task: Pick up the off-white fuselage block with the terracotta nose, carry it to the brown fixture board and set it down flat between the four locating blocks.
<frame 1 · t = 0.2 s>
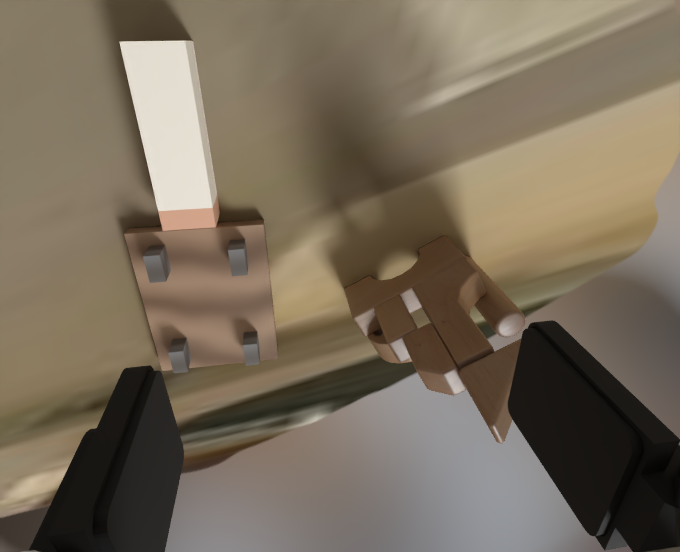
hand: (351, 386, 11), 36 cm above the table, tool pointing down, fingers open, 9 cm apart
fuselage block: (181, 136, 41), on the table
wooden toy: (410, 278, 53), on the table
brown fixture board: (210, 296, 50), on the table
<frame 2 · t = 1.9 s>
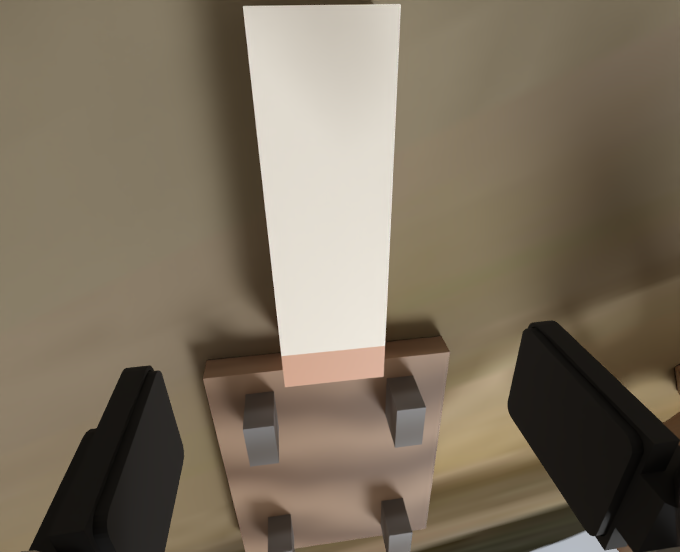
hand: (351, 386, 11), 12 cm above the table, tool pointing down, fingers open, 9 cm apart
fuselage block: (321, 202, 21), on the table
wooden toy: (644, 405, 32), on the table
brown fixture board: (332, 448, 30), on the table
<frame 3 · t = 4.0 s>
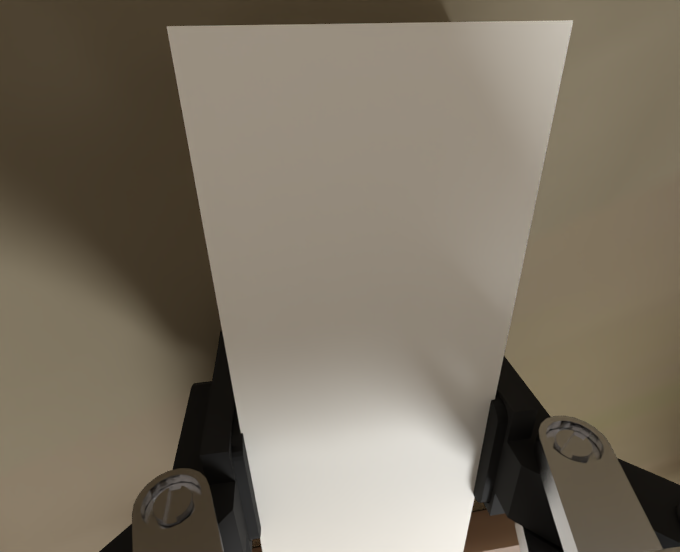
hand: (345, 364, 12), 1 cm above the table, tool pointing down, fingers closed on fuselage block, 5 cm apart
fuselage block: (342, 348, 12), on the table, touching gripper
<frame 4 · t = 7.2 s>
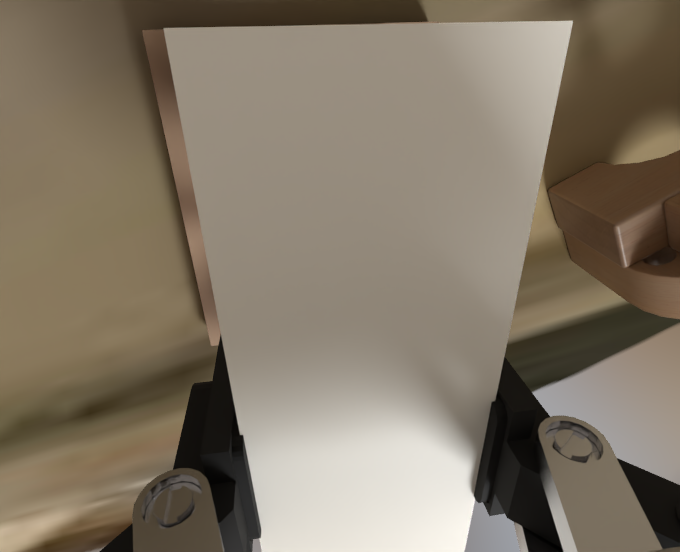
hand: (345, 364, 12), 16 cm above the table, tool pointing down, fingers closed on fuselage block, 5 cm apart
fuselage block: (342, 350, 12), point 15 cm above the table, touching gripper
wooden toy: (662, 171, 29), on the table
brown fixture board: (306, 199, 26), on the table
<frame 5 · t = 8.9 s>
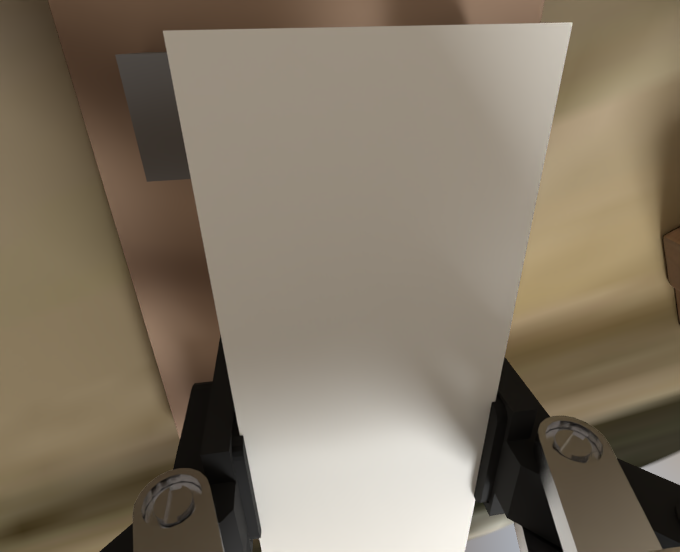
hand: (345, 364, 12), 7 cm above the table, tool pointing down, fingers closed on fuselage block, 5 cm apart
fuselage block: (342, 351, 12), point 6 cm above the table, touching gripper
brown fixture board: (321, 253, 18), on the table
when the fingers open (3 cm above the table, at t = 10.4 s): fuselage block drops 1 cm, resting on brown fixture board.
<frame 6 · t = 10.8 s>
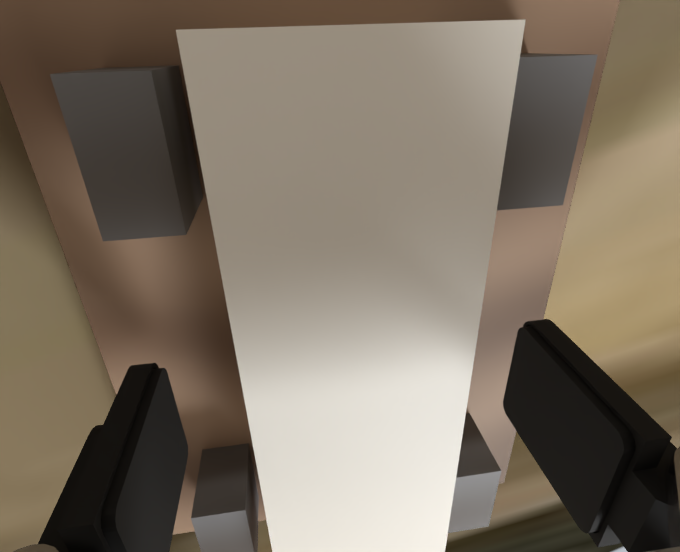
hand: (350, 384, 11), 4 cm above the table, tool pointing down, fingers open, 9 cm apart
fuselage block: (337, 327, 13), point 1 cm above the table, touching brown fixture board
brown fixture board: (331, 303, 15), on the table
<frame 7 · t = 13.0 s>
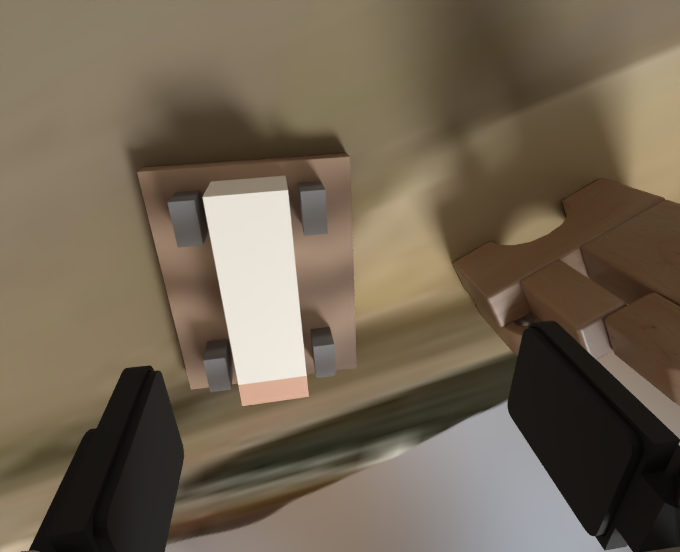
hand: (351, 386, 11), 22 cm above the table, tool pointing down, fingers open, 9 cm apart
fuselage block: (263, 283, 32), point 1 cm above the table, touching brown fixture board
wooden toy: (543, 245, 37), on the table
brown fixture board: (263, 275, 34), on the table
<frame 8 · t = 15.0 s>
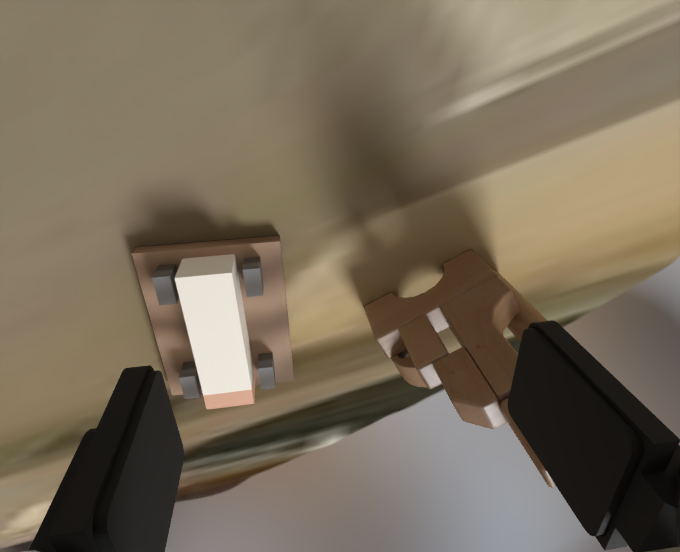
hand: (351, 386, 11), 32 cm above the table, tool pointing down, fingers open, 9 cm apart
fuselage block: (222, 323, 45), point 1 cm above the table, touching brown fixture board
wooden toy: (433, 294, 50), on the table
brown fixture board: (223, 316, 47), on the table
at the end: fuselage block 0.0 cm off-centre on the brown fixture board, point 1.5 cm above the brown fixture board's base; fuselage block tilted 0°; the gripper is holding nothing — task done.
